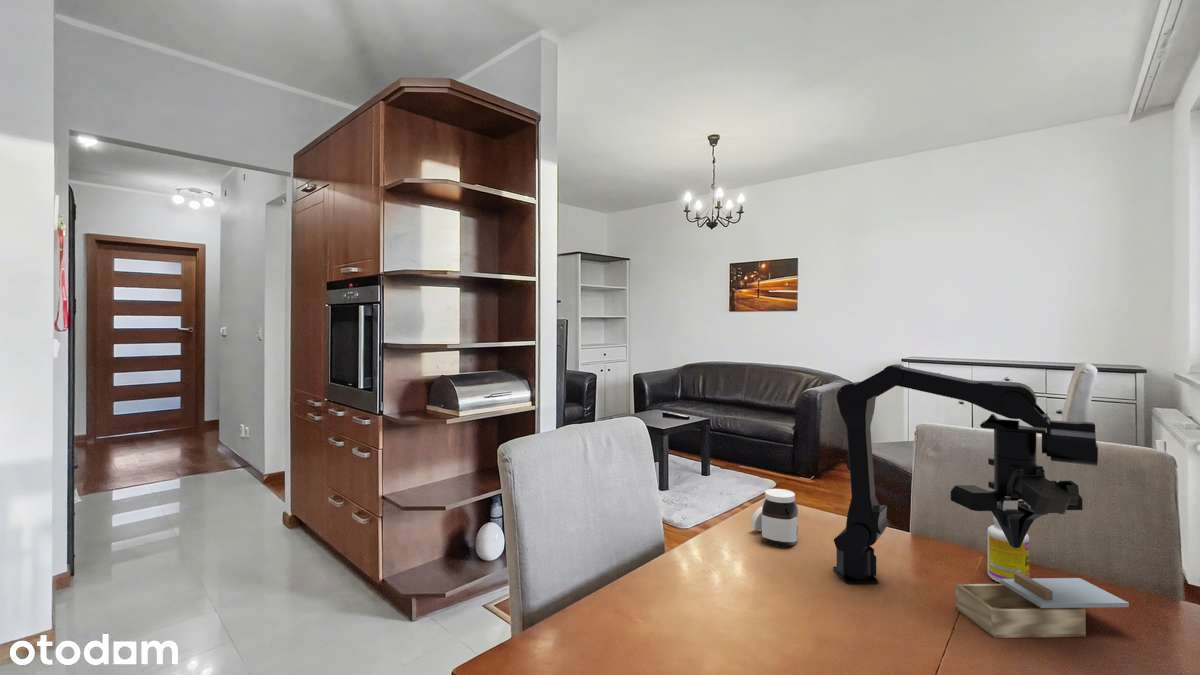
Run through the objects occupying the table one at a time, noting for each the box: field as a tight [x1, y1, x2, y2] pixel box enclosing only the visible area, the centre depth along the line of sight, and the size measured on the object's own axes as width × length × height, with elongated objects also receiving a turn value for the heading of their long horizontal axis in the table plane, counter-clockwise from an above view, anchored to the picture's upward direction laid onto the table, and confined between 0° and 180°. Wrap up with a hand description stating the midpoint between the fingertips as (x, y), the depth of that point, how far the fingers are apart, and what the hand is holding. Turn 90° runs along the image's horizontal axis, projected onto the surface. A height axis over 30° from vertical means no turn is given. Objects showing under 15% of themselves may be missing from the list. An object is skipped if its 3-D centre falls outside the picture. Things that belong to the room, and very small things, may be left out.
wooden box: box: [955, 583, 1087, 639], centre depth 89 cm, size 15×9×4 cm, turn 90°
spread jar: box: [750, 488, 799, 547], centre depth 126 cm, size 12×11×12 cm
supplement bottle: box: [986, 513, 1030, 584], centre depth 104 cm, size 7×7×13 cm
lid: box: [999, 573, 1130, 609], centre depth 89 cm, size 14×9×2 cm, turn 90°
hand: (1014, 547), depth 89 cm, fingers closed
